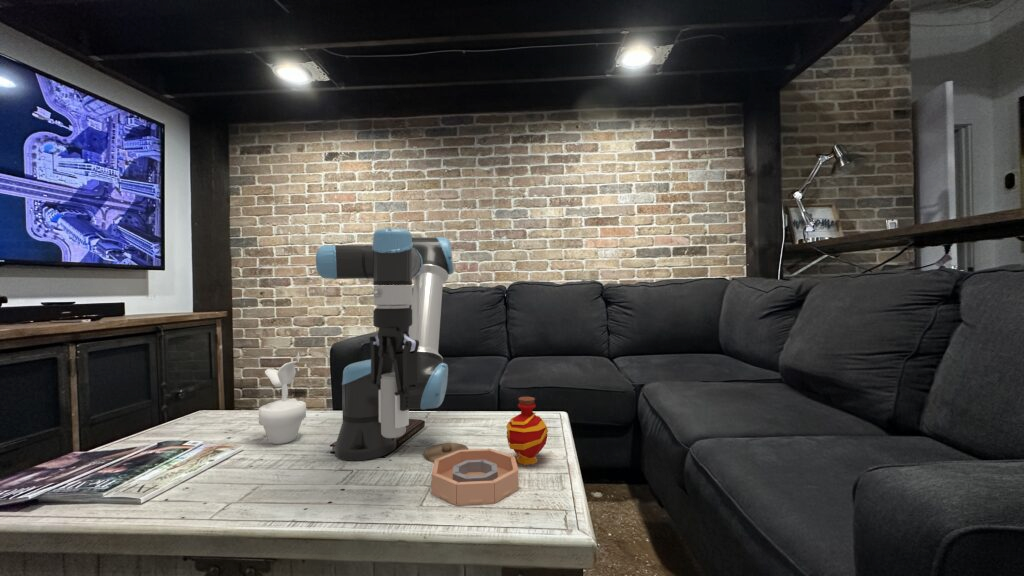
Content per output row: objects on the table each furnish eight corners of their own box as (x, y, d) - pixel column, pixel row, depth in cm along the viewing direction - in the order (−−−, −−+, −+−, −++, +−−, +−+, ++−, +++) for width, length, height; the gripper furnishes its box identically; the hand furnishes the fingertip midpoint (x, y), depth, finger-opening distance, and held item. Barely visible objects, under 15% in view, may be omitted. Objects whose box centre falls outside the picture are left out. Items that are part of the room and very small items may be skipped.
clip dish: (414, 486, 88) (414, 467, 88) (474, 459, 102) (474, 443, 102) (475, 515, 76) (475, 493, 76) (534, 480, 90) (533, 462, 90)
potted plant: (314, 438, 118) (314, 349, 118) (272, 451, 108) (273, 355, 108) (289, 430, 125) (290, 347, 125) (248, 442, 115) (248, 351, 115)
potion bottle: (545, 470, 95) (545, 405, 96) (501, 467, 97) (501, 403, 98) (550, 453, 106) (550, 394, 106) (510, 450, 108) (510, 392, 108)
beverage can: (383, 440, 80) (383, 378, 80) (378, 433, 84) (378, 373, 84) (408, 436, 82) (408, 375, 82) (402, 429, 86) (402, 371, 86)
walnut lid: (415, 457, 105) (415, 446, 105) (448, 445, 113) (448, 435, 113) (444, 469, 98) (444, 457, 98) (477, 454, 106) (477, 444, 106)
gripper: (352, 306, 86) (352, 419, 86) (404, 308, 75) (405, 438, 74) (383, 305, 92) (384, 411, 92) (436, 307, 80) (437, 427, 80)
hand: (393, 423), depth 83 cm, fingers closed on beverage can, 5 cm apart
